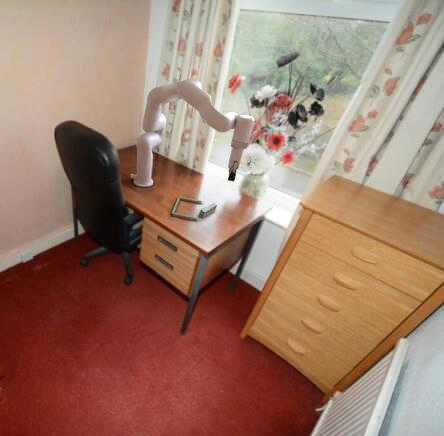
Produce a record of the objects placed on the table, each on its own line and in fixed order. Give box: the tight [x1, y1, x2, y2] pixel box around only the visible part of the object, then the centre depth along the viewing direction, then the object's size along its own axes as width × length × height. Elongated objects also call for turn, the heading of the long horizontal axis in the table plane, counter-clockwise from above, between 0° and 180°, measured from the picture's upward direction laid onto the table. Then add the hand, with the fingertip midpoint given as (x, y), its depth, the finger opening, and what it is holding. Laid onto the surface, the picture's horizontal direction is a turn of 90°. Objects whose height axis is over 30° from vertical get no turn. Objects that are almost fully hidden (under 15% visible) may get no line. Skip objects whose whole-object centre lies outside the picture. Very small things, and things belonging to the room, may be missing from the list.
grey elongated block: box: [198, 202, 218, 219], centre depth 147 cm, size 12×3×4 cm, turn 132°
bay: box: [170, 196, 203, 222], centre depth 151 cm, size 14×19×2 cm
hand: (231, 176), depth 138 cm, fingers open, 9 cm apart
